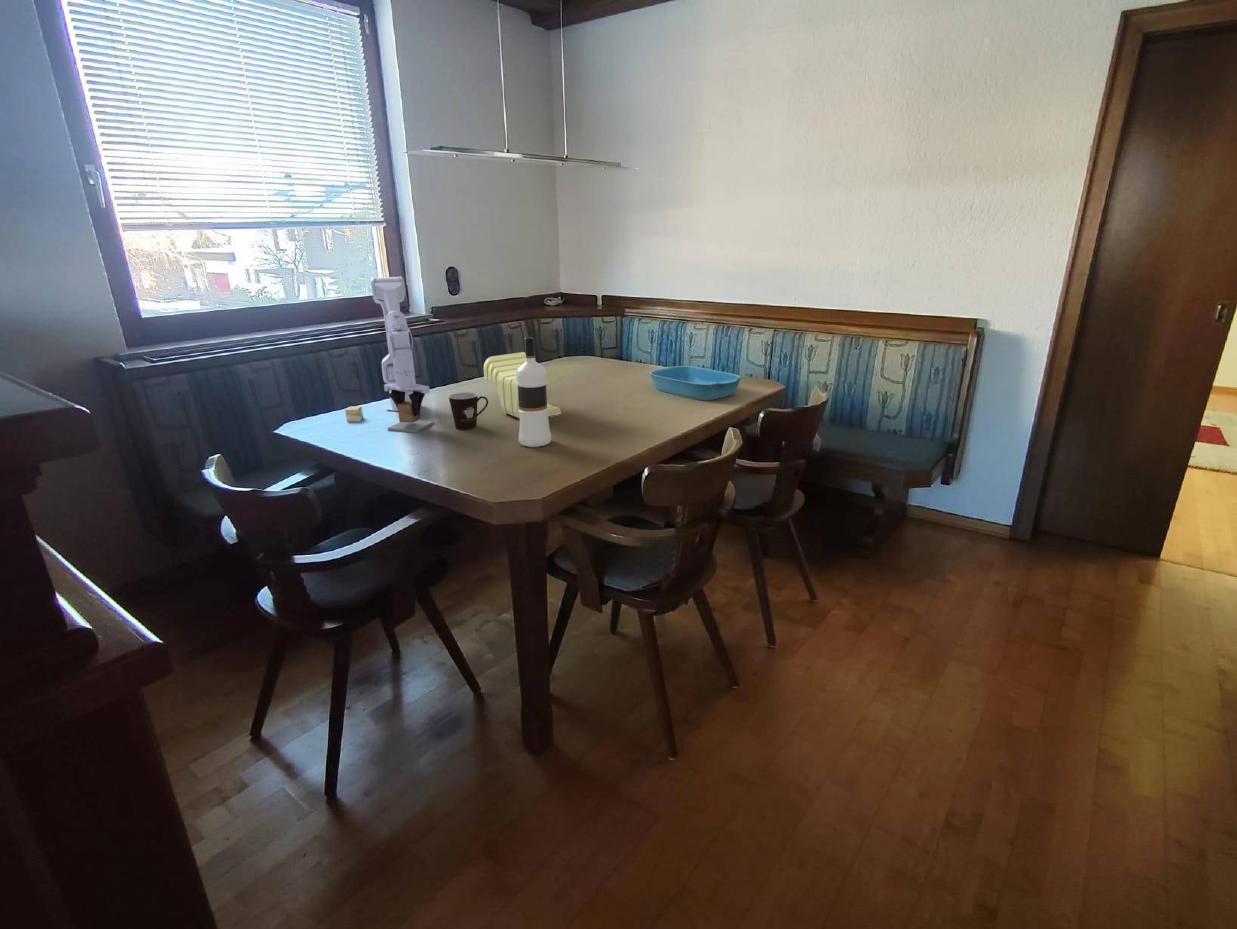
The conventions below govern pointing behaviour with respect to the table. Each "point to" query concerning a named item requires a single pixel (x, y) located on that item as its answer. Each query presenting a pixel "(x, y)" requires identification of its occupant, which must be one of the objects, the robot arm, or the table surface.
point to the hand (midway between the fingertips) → (409, 414)
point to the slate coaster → (411, 426)
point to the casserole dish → (695, 382)
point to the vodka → (532, 400)
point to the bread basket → (506, 381)
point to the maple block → (354, 413)
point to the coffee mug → (465, 409)
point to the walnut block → (406, 412)
